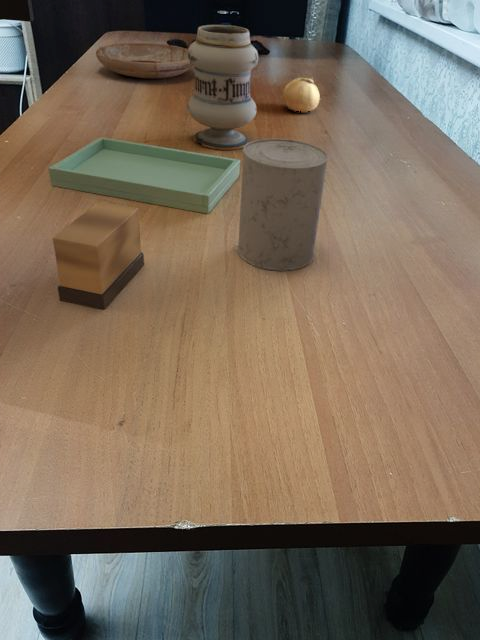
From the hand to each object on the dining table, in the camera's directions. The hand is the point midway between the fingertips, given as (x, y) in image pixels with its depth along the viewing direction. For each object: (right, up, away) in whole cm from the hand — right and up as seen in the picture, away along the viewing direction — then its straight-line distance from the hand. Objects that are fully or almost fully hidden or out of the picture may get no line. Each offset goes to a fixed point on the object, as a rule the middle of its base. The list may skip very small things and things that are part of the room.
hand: (41, 7), depth 44 cm
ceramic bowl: (-11, +42, +96) cm, 105 cm away
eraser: (0, -19, +18) cm, 26 cm away
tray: (0, -1, +42) cm, 42 cm away
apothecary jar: (+10, +11, +59) cm, 61 cm away
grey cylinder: (+19, -14, +27) cm, 36 cm away
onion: (+25, +26, +80) cm, 88 cm away
